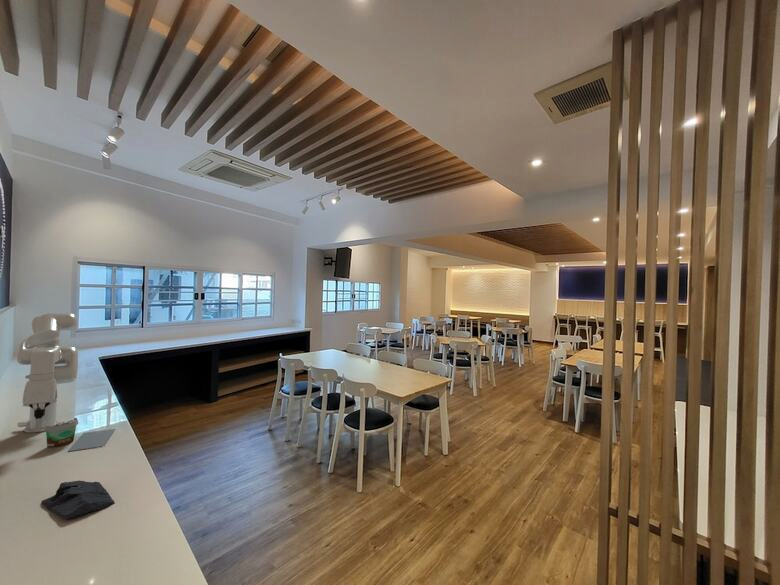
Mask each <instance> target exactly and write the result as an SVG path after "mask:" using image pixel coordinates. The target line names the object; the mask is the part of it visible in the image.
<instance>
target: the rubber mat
mask: <svg viewBox="0 0 780 585" xmlns="http://www.w3.org/2000/svg"><path fill="white" fill-rule="evenodd" d="M114 430H115V431H116V429H115V428H111V429H104V430H103V429H102V430H97V431H89V432H88V431H87V432H83V433H82V434H81V435H80V436H79V437H78V439H77V440H76V441H75V442H74V443H72V446H71V447H70V448H69V449H68V450H67V452H68V453H70V452H76V451H83V450H84V451H85V450H90V449H91V448H92V449H98V448H97V447H99V448H104V447H105V446H106V445H107V443H108V442H109V440H110V439H109V438H111V437H112V436H113V434H114V432H115V431H114ZM112 433H113V434H112ZM110 436H111V437H110ZM107 441H108V442H107ZM105 444H106V445H105ZM103 446H104V447H103Z"/></svg>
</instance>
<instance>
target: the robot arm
mask: <svg viewBox="0 0 780 585" xmlns="http://www.w3.org/2000/svg"><path fill="white" fill-rule="evenodd" d="M77 326H78V317H77V315H76V314H74V313H69V312H68V313H62V312H61V313H56V312H55V313H45V314H42V315H39V316H35V317H34V318H33V319H32V321H31V329H32V332H33V334H31V335H29V336H28V337H27V338H25V339H24V340H23V341H22V342H20V343H19V347H18V350H17V355H16V361H17V363H18V364H19V365H22V366H30V370H29V371H30V372H29V374H28V375H25V379H28V380H27V381H26V383H25V385H24V390H23V395H22V406H23V407H27V408H28V407H29V420H27V421H21V422H17V424H16V425H17V427H18V428H23V427H25V428H24V429H23V431H24V432H25V433H29V434H32V433H33V434H34V433H40V432H45V431H44V430H45V428H46V426H54V425H57V424H59V423H60V422H59V421H56V420H57V406H58V405H57V404H58V385H60V384H62V385H63V384H69V383H73V382H75V381H76V380H77V376H78V369H79V368H78V365H79V352H78V349H77V348H76V347H74V346H61V339H60V333H61V332H63V331H65V332H66V331H74V330H76V328H77Z"/></svg>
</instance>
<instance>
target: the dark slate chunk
mask: <svg viewBox="0 0 780 585" xmlns="http://www.w3.org/2000/svg"><path fill="white" fill-rule="evenodd" d="M112 498H113V497H112V496H111V495H110V494H109V492H108V491H107V489H106V488H105V487H104V486H103V485H102V484H101V482H99V481H93V482H92V481H85V480H75V481H73V480H72V481H65V482H61V483H59V487H58V488H57V489H56V492H55V494H54V495H52V496H50V497H48V498H45V499H42V500H41V503H42V504H43V505H45V507H46V508H48V510H50V511H53V512H54V513H55V514H57V515H58V516H60V517H61V518H63V519H64V520H65V519H66V520H71V519H73V518H77V517H79V516H80V517H81V515H86V514H88V513H92V512H96V511H99V510H103V509H105V508H108V507H111V506H112V505H113V504H116V502H115V500H114V499H112ZM102 508H103V509H102Z"/></svg>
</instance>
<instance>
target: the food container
mask: <svg viewBox="0 0 780 585" xmlns="http://www.w3.org/2000/svg"><path fill="white" fill-rule="evenodd" d="M77 425H79V419H78V418H76V417H74V418H73V419H71V420H69V421H63V422H59V424H57V425H54V426H46V428H45V430H44V431H43V432H45V434H46V437H45V438H46V448H48V449H51V448H52V449H53V448H59V447H63V446H68V445H70V444H73V442H74V440H75V435H76V434H75V433H76V431H77V430H76V429H77Z"/></svg>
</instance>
